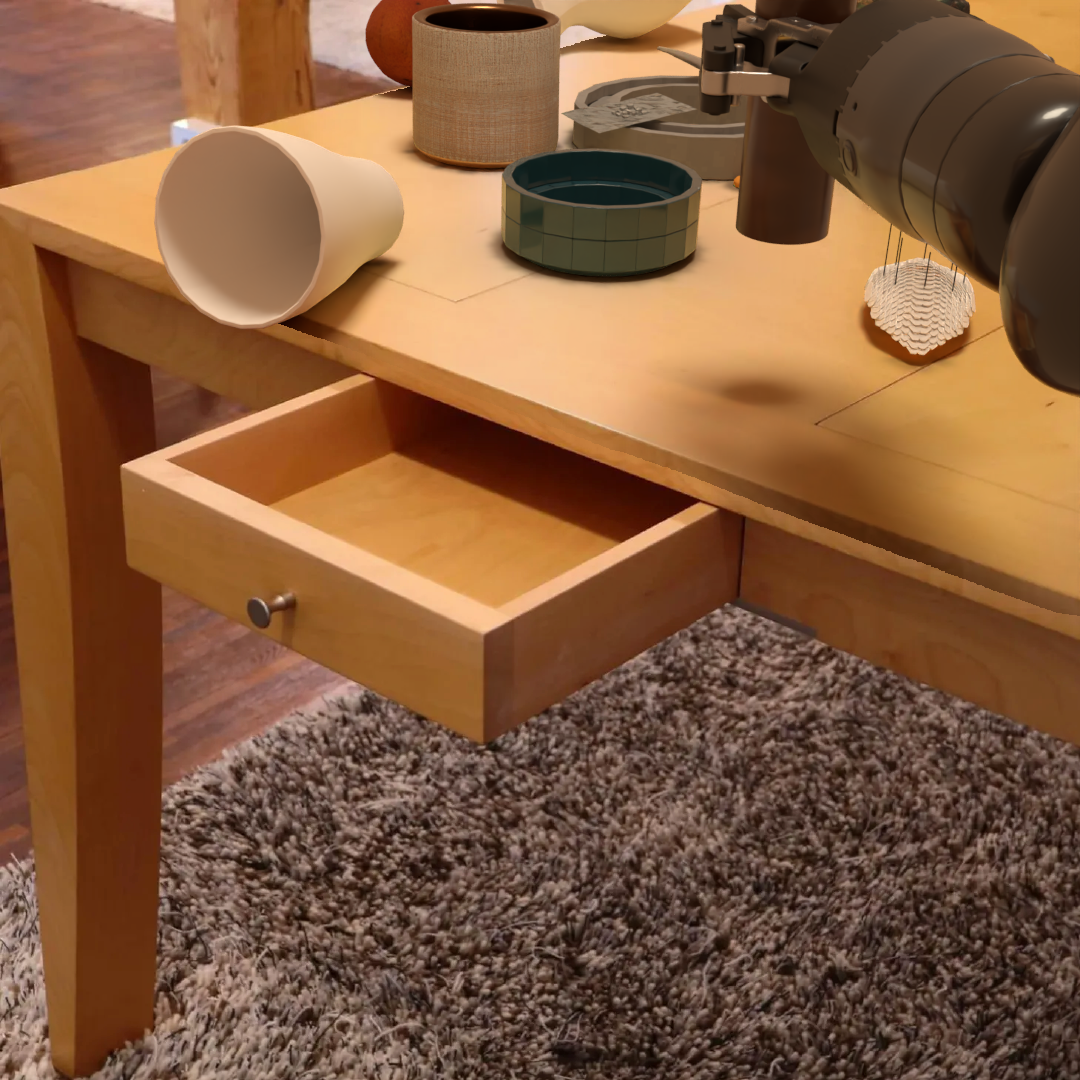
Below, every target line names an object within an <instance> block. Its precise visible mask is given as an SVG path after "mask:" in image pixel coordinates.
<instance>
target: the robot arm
mask: <svg viewBox="0 0 1080 1080" xmlns="http://www.w3.org/2000/svg"><path fill="white" fill-rule="evenodd" d="M722 10H723V11H722V13H721V14H715V19H711V20H710V21H704V22H702V29H701V55H700V56H701V57H700V58H701V68H700V70H699V69H698V76H699V80H698V83H699V101H700V111H702V112H704V113H708V114H709V115H712V116H719V115H721V114H726V113H729V112H730V106H739V105H740V99H741V96H761V98H762V100H763V101H764V102H766V103H768V104H769V106H770V107H771V108H772V109H773V110H775V111H777V112H780V113H783V114H787V115H790V116H793V117H796V118H797V120H798V122H799V125H800V127H801V130H802V132H803V135H804V137H805V140H806V142H807V144H808V146H809V148H810V150H811V152H812V154H813V156H814V157H815V159H816V160H817V162H818V163H819V164H820V166H821V167H822V168H823V169H824V170H825V171H826V172H827V173H828V174H829V175H831V176H832V177H833V178H834V179H835V181H837V182H838V183H839V184H840V185H841V186H843V187H844V188H845V189H847V190H848V191H849V192H850V193H852V194H853V195H854V196H855V197H857V198H858V199H859V200H861V201H862V202H863V203H864V204H865V205H867V206H869V208H870V209H871V210H873V211H875V212H876V213H877V214H878V215H879V216H880V217H882V218H883V219H884V220H885V221H886V222H888V223H889V224H890V225H891V224H892V226H893V227H894V228H896V229H897V230H899V232H900V231H901V233H903V234H905V235H907V236H909V237H911V238H913V239H914V240H917V241H919V242H921V243H923V244H925V245H926V244H927V246H928V245H929V246H930V247H932V248H933V249H934V250H935V251H936V252H938V253H939V254H940V255H942V257H944V258H945V259H947V260H948V261H949V262H950V263H951V264H952V263H953V266H955V267H956V266H957V269H959V270H961V271H962V272H963V273H964V274H965V273H966V275H967V277H969V278H970V279H973V280H974V281H975V282H977V283H979V284H980V285H981V286H982V287H985V288H987V289H989V290H991V291H993V292H994V293H997V294H998V295H999V306H1000V316H1001V321H1002V326H1003V329H1004V331H1005V332H1004V333H1005V335H1006V339H1007V341H1008V342H1007V343H1008V344H1009V346H1010V349H1011V350H1012V352H1013V353H1014V355H1015V357H1016V358H1017V360H1018V362H1019V363H1020V365H1021V366H1022V368H1024V370H1025V371H1026V372H1027V373H1028V374H1029V375H1030V376H1032V377H1033V379H1035V380H1037V382H1039V383H1041V384H1043V386H1046V387H1048V388H1050V389H1053V390H1054V391H1057V392H1060V393H1062V394H1065V395H1068V396H1071V397H1075V398H1078V399H1080V74H1079V73H1077V72H1075V71H1074V70H1073V71H1072V70H1071V69H1068V68H1066V67H1064V66H1062V65H1060V64H1057V63H1056V62H1055V63H1054V62H1053V61H1052V60H1050V59H1049V58H1048V57H1047V56H1046V55H1045V54H1046V53H1043V51H1041V50H1040V49H1038V48H1037V47H1036V46H1034V45H1033V44H1031V43H1030V42H1028V41H1026V40H1024V39H1023V38H1020V37H1019V36H1017V35H1015V34H1013V33H1010V32H1008V31H1006V30H1004V29H1002V28H1001V27H997V26H995V25H993V24H991V23H988V22H987V21H985V20H984V21H985V22H984V21H982V20H983V19H982V20H980V19H981V18H980V19H978V18H979V17H978V18H975V17H973V16H971V15H972V14H971V15H969V14H967V13H964V12H962V11H960V10H958V9H955V8H953V7H951V6H949V5H947V4H944V3H942V2H940V1H938V0H878V1H875V2H873V3H871V4H869V5H867V6H865V7H863V8H861V9H858V8H856V12H854V13H853V14H851V15H850V16H849V17H847V18H846V19H845V20H844V21H843V22H841V23H835V24H826V25H821V24H818V23H815V22H811V21H808V20H805V19H801V18H798V17H788V18H779V19H771V20H769V21H767V20H765V19H764V18H762V17H761V16H759V15H757V14H756V13H755V11H753V10H751V9H749V7H747V6H745V5H743V4H742V3H737V4H736V3H732V4H727V3H726V4H725V5H724V6H723V9H722ZM986 22H987V23H986ZM798 40H799V41H798Z"/></svg>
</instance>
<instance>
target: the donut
mask: <svg viewBox="0 0 1080 1080" xmlns="http://www.w3.org/2000/svg"><path fill="white" fill-rule="evenodd" d="M739 183H740V176H737V177H736V178H735V179H733V187H734V188H737V189H738V190H739Z"/></svg>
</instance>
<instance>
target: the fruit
mask: <svg viewBox="0 0 1080 1080" xmlns="http://www.w3.org/2000/svg"><path fill="white" fill-rule="evenodd" d="M449 4H452V2H451V1H450V0H380V1H379V2H378V4H376V5H375V7H374V8H373V9H372V11H371V13H370V15H369V17H368V20H367V22H366V26H365V33H364V34H365V40H364V41H365V45H366V49H367V51H368V53H369V56H370V57H371V59H372V61H373V63H374V64H375V66H376V67H377V68H378V69H379V71H380V72H381V73H382V74H383V75H384V76H386V77H387V78H388V79H390V80H391V81H393V82H395V83H397V84H400V85H402V86H405V87H408V88H409V87H410V88H413V43H412V17H413V15H414V14H415V13H417V12H418V11H421V10H423V9H426V8H430V7H435V6H441V5H449Z"/></svg>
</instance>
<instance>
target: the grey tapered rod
mask: <svg viewBox="0 0 1080 1080" xmlns="http://www.w3.org/2000/svg"><path fill="white" fill-rule="evenodd" d="M656 50H657V51H660V52H662V53H666V54H668V55H670V56H672V57H673V58H675V59H678V60H680V61H681V62H683V63H686V64H687V65H690V66H692V67H694V68H696V70H697V69H698V71H699V70H700V68H701V57H700V56H697V55H694V54H692V53H689V52H686V51H683V50H679V49H675V48H670V47H666V46H660V45H659V46H657V47H656Z"/></svg>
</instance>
